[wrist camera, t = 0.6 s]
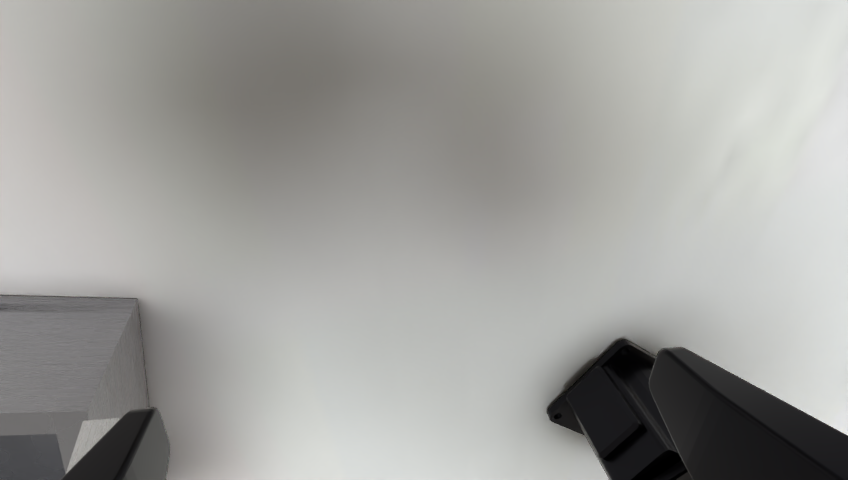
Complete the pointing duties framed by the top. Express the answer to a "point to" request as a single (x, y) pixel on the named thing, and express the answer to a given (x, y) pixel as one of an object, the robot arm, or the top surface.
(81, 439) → the tabbed silver plate
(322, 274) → the top surface
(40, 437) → the grey open box
